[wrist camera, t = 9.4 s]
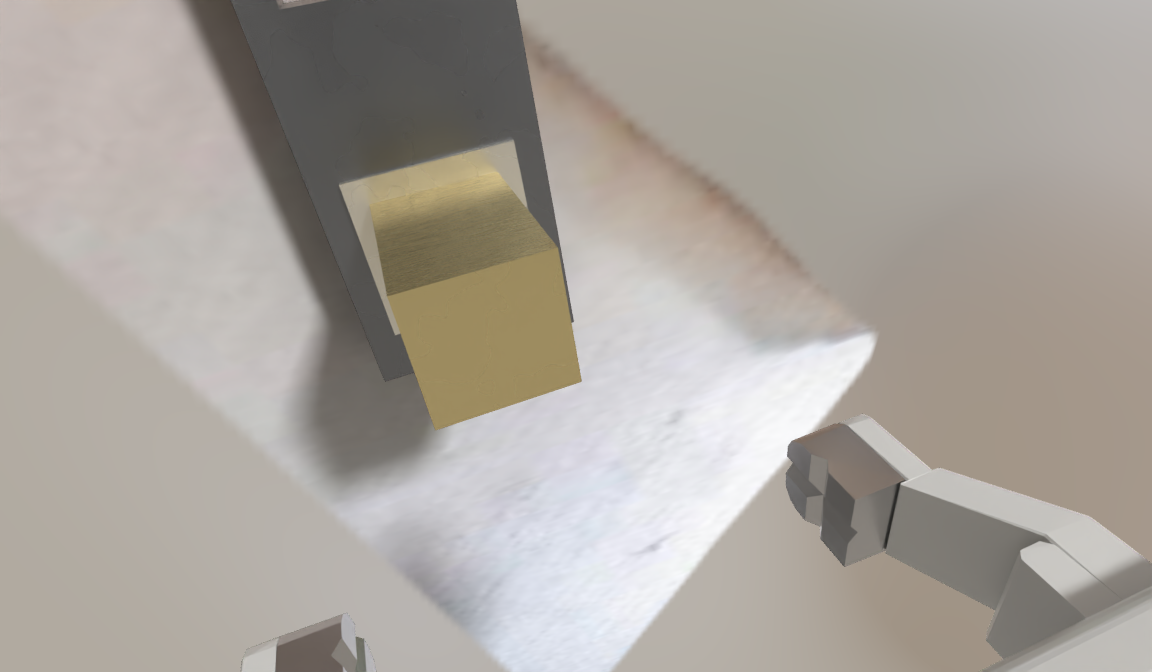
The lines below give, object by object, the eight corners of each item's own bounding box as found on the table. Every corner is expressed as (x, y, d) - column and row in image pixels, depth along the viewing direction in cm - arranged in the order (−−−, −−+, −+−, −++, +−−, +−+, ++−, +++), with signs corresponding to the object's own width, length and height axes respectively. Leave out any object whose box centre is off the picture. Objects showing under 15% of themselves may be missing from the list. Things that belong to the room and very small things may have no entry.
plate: (81, -404, 15) (41, -464, 13) (416, -428, 17) (430, -485, 14) (380, 349, 27) (385, 384, 25) (556, 295, 29) (575, 324, 27)
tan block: (369, 204, 21) (386, 296, 16) (497, 171, 22) (558, 247, 17) (408, 316, 24) (435, 430, 18) (522, 282, 25) (581, 381, 19)
